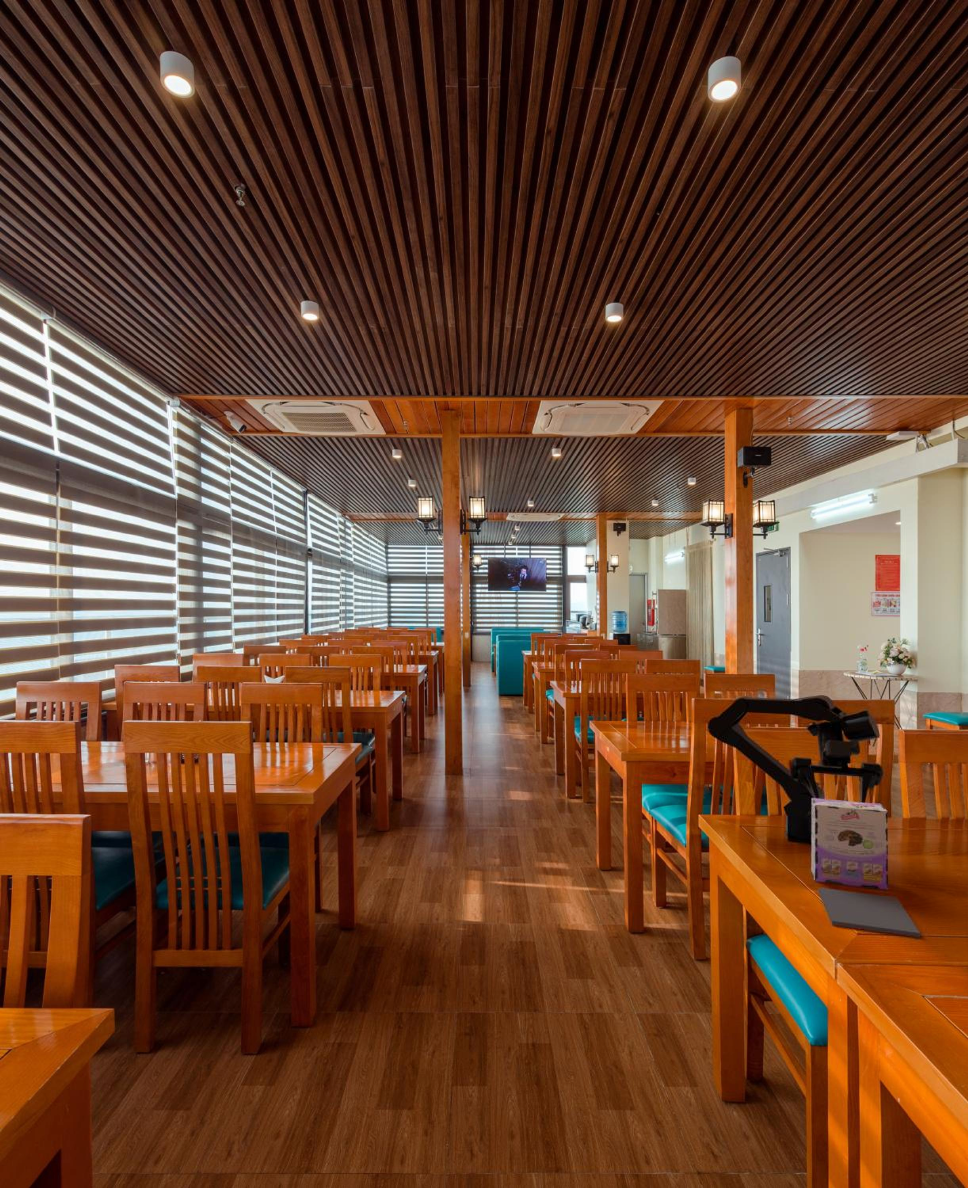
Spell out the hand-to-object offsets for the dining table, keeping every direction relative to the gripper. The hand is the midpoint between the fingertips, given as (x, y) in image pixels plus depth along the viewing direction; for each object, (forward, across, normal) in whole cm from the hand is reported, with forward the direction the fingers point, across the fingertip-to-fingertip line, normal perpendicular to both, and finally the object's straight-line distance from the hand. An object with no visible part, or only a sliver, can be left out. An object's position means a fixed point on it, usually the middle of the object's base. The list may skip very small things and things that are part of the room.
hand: (840, 804), depth 151 cm
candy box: (+16, 0, +3) cm, 17 cm away
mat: (+27, 0, -8) cm, 28 cm away
